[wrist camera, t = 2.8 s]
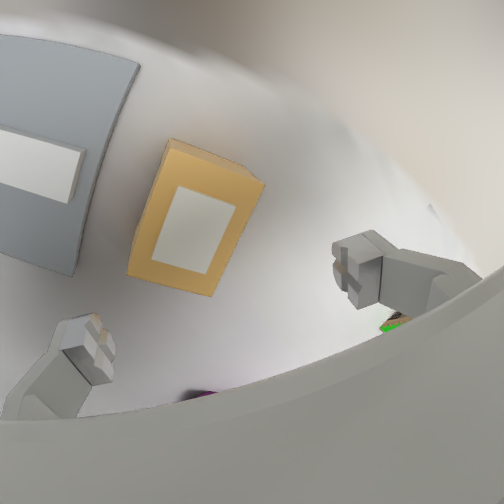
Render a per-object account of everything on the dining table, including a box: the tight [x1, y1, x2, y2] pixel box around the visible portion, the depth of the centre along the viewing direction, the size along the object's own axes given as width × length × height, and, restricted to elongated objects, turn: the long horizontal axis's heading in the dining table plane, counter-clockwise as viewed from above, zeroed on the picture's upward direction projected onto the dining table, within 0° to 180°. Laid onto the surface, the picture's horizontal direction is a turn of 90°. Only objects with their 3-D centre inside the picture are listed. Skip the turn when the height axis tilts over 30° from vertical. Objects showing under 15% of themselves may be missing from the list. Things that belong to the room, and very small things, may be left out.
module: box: [126, 138, 265, 297], centre depth 17 cm, size 7×5×5 cm
